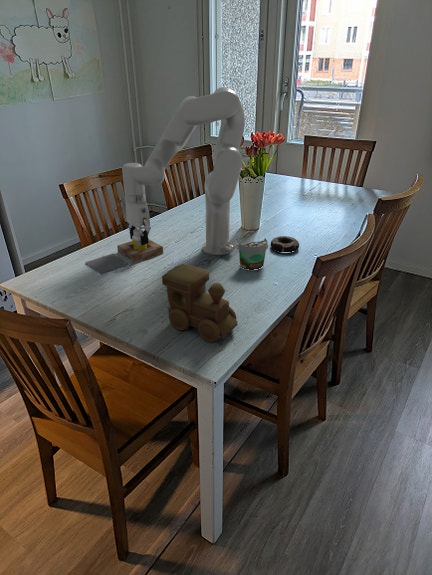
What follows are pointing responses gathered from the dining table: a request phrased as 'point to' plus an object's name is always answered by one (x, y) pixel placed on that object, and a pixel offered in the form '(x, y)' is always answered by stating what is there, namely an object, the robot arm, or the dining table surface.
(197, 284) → the wooden toy train
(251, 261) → the food container
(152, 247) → the socket block
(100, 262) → the rubber mat
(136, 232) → the supplement bottle
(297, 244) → the donut
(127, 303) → the dining table surface
